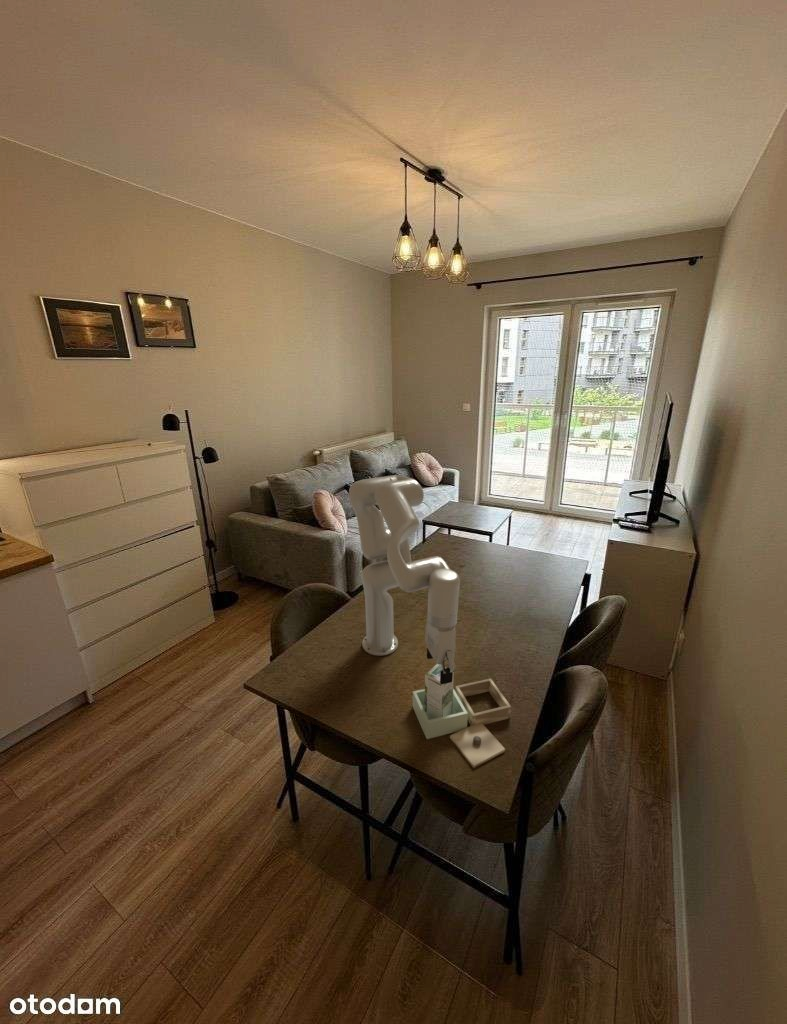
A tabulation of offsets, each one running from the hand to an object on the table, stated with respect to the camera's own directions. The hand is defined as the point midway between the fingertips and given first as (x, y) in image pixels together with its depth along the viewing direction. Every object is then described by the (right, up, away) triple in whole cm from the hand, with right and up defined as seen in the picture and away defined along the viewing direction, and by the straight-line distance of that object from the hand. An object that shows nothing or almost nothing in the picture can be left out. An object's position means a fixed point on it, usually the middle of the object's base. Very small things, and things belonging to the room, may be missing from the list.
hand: (438, 669), depth 112 cm
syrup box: (0, -14, +4) cm, 15 cm away
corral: (+13, -14, +8) cm, 21 cm away
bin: (+1, -15, +5) cm, 16 cm away
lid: (+10, -18, -4) cm, 21 cm away
